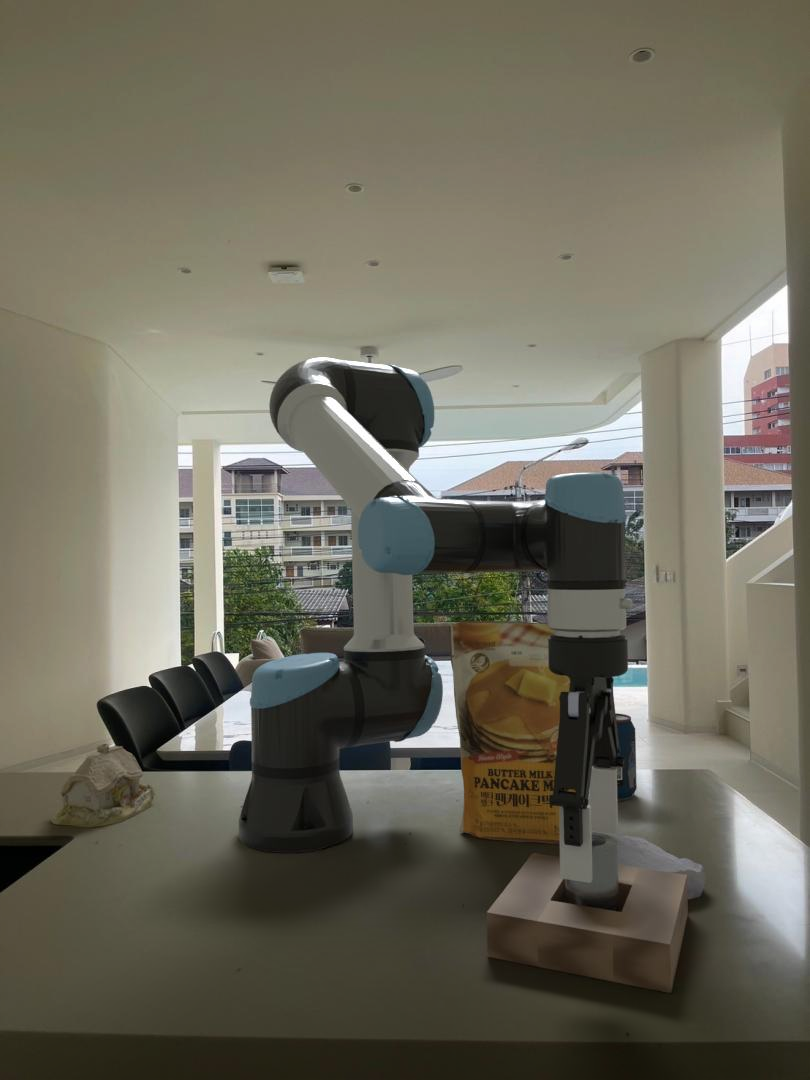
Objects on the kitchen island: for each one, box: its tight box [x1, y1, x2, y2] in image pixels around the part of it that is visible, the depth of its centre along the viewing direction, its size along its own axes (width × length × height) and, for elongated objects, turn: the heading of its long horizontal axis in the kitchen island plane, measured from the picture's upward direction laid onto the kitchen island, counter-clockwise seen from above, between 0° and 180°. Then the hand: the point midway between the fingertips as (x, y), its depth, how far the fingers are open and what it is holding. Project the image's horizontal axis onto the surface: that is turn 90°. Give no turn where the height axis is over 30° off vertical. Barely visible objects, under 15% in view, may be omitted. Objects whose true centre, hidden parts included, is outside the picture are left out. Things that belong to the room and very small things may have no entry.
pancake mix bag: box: [447, 620, 576, 845], centre depth 106 cm, size 7×19×28 cm, turn 78°
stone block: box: [610, 834, 707, 900], centre depth 89 cm, size 12×5×10 cm
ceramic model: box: [51, 743, 156, 828], centre depth 117 cm, size 14×11×10 cm
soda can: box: [592, 712, 638, 802], centre depth 123 cm, size 7×7×12 cm
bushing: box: [565, 831, 619, 912], centre depth 77 cm, size 5×5×9 cm
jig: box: [486, 852, 689, 994], centre depth 77 cm, size 16×16×4 cm
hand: (591, 853), depth 77 cm, fingers open, 13 cm apart
